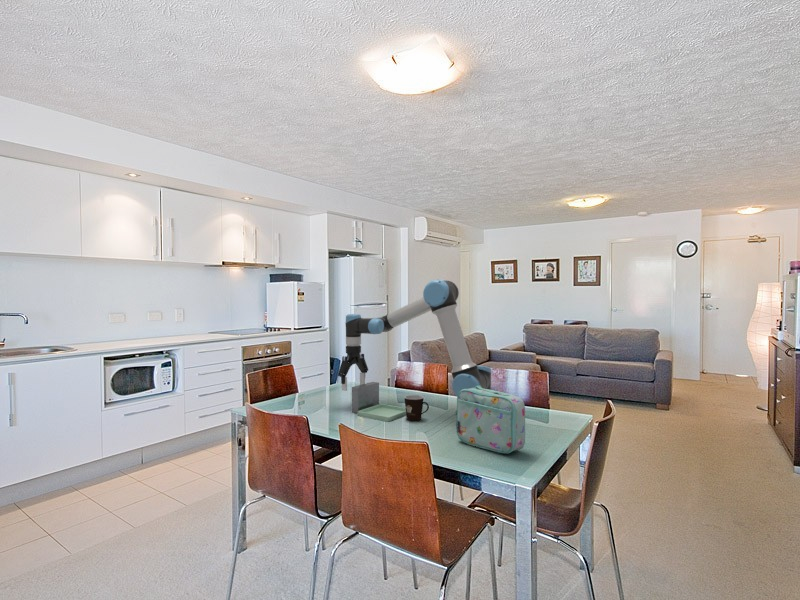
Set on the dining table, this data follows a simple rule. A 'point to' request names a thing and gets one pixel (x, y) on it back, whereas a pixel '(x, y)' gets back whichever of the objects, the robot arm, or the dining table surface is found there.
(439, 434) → the dining table surface
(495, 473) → the dining table surface
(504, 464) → the dining table surface
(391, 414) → the tray
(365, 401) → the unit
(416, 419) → the coffee mug
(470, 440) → the lunch box
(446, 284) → the robot arm
